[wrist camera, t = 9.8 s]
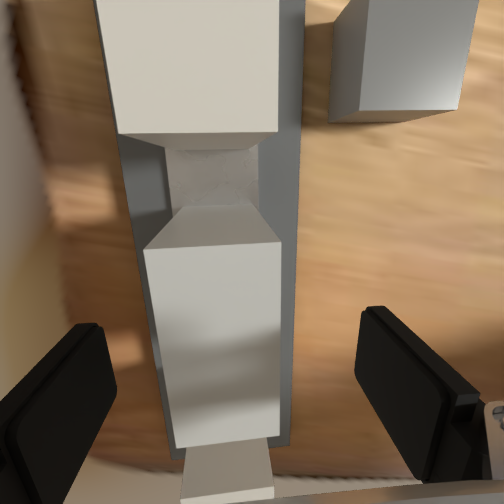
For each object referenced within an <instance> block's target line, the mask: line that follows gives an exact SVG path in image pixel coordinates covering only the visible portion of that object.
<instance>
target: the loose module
mask: <svg viewBox="0 0 504 504" xmlns="http://www.w3.org/2000/svg"><path fill="white" fill-rule="evenodd" d="M143 252H144V258H145V264H146V270H147V276H148V282H149V288H150V294H151V300H152V305H153V311H154V317H155V323H156V329H157V335H158V341H159V347H160V353H161V359H162V365H163V371H164V377H165V383H166V389H167V395H168V401H169V407H170V413H171V419H172V425H173V431H174V437H175V443H176V449H177V448H185V447H193V446H201V445H209V444H217V443H225V442H233V441H241V440H249V439H257V438H265V437H273V436H279V434H280V334H281V241H280V239H279V238H278V237H277V235H276V234H275V233H274V232H273V230H272V229H271V228H270V226H269V225H268V224H267V222H266V221H265V220H264V218H263V217H262V216H261V214H260V213H259V212H258V210H257V209H256V208H255V206H254V205H253V204H238V205H214V206H191V207H183V208H182V209H181V210H180V211H179V212H178V213H177V214H176V215H175V216H174V217H173V218H172V219H171V220H170V221H169V223H168V224H167V225H166V226H165V227H164V228H163V229H162V230H161V231H160V232H159V233H158V234H157V235H156V236H155V238H154V239H153V240H152V241H151V242H150V243H149V244H148V245H147V246H146V247H145V248H144V249H143Z"/></svg>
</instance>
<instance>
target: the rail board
mask: <svg viewBox="0 0 504 504" xmlns="http://www.w3.org/2000/svg"><path fill="white" fill-rule="evenodd" d="M93 2H94V8H95V14H96V20H97V26H98V32H99V38H100V43H101V49H102V55H103V61H104V67H105V73H106V79H107V84H108V90H109V96H110V102H111V108H112V114H113V119H114V125H115V131H116V137H117V143H118V149H119V155H120V160H121V166H122V172H123V178H124V184H125V190H126V196H127V201H128V207H129V213H130V219H131V225H132V231H133V237H134V242H135V248H136V254H137V260H138V266H139V272H140V278H141V283H142V289H143V295H144V301H145V307H146V313H147V318H148V324H149V330H150V336H151V342H152V348H153V354H154V359H155V365H156V371H157V377H158V383H159V389H160V395H161V400H162V406H163V412H164V418H165V424H166V430H167V436H168V441H169V447H170V453H171V459H172V460H178V459H185V456H186V448H187V447H185V448H177V449H176V443H175V437H174V431H173V425H172V419H171V413H170V407H169V401H168V395H167V389H166V383H165V377H164V371H163V365H162V359H161V353H160V347H159V341H158V335H157V329H156V323H155V317H154V311H153V305H152V300H151V294H150V288H149V282H148V276H147V270H146V264H145V258H144V252H143V249H144V248H145V247H146V246H147V245H148V244H149V243H150V242H151V241H152V240H153V239H154V238H155V236H156V235H157V234H158V233H159V232H160V231H161V230H162V229H163V228H164V227H165V226H166V225H167V224H168V223H169V221H170V220H171V219H172V218H173V214H172V205H171V197H170V189H169V180H168V172H167V163H166V155H165V147H162V146H159V145H155V144H152V143H149V142H145V141H142V140H138V139H135V138H132V137H128V136H125V135H122V134H118V128H117V122H116V116H115V110H114V104H113V98H112V92H111V86H110V80H109V74H108V68H107V62H106V56H105V50H104V44H103V38H102V32H101V26H100V20H99V14H98V9H97V3H96V0H93ZM304 28H305V0H279V72H278V132H277V133H275V134H274V135H272V136H270V137H268V138H267V139H265V140H263V141H262V142H260V143H258V192H259V213H260V214H261V216H262V217H263V218H264V220H265V221H266V222H267V224H268V225H269V226H270V228H271V229H272V230H273V232H274V233H275V234H276V235H277V237H278V238H279V239H280V241H281V334H280V434H279V436H273V437H267V444H268V448H275V447H283V446H290V422H291V394H292V366H293V338H294V310H295V282H296V253H297V225H298V197H299V169H300V141H301V113H302V84H303V56H304Z"/></svg>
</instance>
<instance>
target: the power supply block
mask: <svg viewBox="0 0 504 504" xmlns="http://www.w3.org/2000/svg"><path fill="white" fill-rule="evenodd" d="M478 3H479V0H351V1H350V2H349V3H348V4H347V6H346V7H345V8H344V10H343V11H342V12H341V13H340V15H339V16H338V17H337V19H336V20H335V21H334V26H333V43H332V60H331V77H330V93H329V110H328V123H354V122H406V121H411V120H415V119H419V118H423V117H428V116H432V115H436V114H441V113H445V112H449V111H453V110H457V107H458V102H459V97H460V92H461V87H462V82H463V77H464V72H465V67H466V62H467V57H468V52H469V47H470V42H471V37H472V32H473V28H474V23H475V18H476V13H477V8H478Z"/></svg>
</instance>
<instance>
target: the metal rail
mask: <svg viewBox="0 0 504 504" xmlns="http://www.w3.org/2000/svg"><path fill="white" fill-rule="evenodd" d="M165 155H166V163H167V172H168V180H169V189H170V197H171V205H172V214H173V217H174V216H175V215H176V214H177V213H178V212H179V211H180V210H181V209H182V208H183V207H191V206H214V205H238V204H253V205H254V206H255V208H256V209H257V210H258V212H259V192H258V144H257V145H255V146H253V147H251V148H250V149H217V150H172V149H169V148H165Z"/></svg>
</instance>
